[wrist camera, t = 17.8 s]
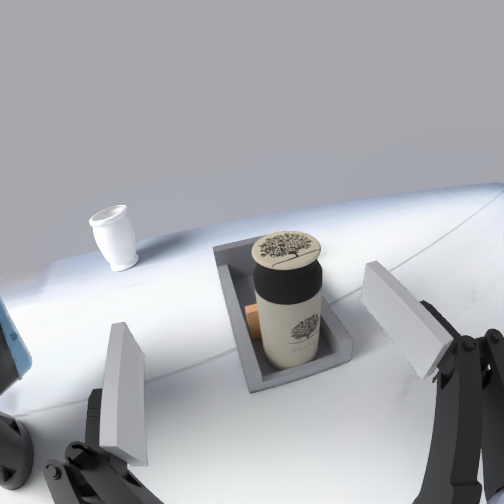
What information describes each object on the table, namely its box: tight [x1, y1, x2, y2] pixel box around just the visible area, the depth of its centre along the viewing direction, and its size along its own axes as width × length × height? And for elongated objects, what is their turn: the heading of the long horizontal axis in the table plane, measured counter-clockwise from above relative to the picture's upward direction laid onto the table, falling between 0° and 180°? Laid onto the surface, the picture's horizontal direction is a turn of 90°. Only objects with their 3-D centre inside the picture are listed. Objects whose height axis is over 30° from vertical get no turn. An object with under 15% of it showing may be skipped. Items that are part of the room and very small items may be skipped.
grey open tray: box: [213, 235, 354, 393], centre depth 44 cm, size 15×28×8 cm, turn 13°
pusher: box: [245, 304, 262, 340], centre depth 41 cm, size 10×2×6 cm, turn 103°
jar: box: [89, 205, 139, 271], centre depth 64 cm, size 11×10×15 cm
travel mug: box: [252, 231, 322, 370], centre depth 34 cm, size 8×8×18 cm
